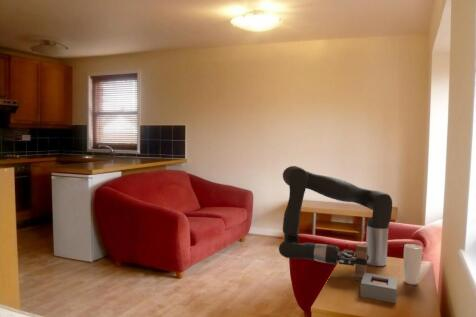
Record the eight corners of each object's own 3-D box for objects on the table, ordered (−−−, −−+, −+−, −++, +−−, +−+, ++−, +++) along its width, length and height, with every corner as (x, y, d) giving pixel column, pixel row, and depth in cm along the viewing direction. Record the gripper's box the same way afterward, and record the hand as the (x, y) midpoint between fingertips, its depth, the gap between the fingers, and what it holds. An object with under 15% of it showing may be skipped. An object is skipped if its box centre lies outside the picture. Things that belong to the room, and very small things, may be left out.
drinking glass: (419, 287, 151) (421, 249, 150) (400, 283, 154) (403, 246, 153) (421, 281, 157) (423, 245, 156) (403, 278, 160) (405, 242, 159)
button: (372, 284, 147) (373, 280, 146) (386, 287, 145) (386, 282, 144) (371, 289, 142) (372, 284, 142) (385, 291, 140) (385, 287, 140)
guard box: (363, 284, 151) (364, 272, 151) (396, 290, 147) (397, 278, 146) (360, 296, 140) (360, 282, 140) (395, 303, 136) (396, 289, 135)
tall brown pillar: (355, 276, 160) (357, 243, 159) (365, 278, 159) (367, 244, 158) (354, 279, 157) (356, 245, 156) (364, 281, 155) (366, 247, 154)
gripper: (323, 249, 156) (366, 256, 149) (329, 240, 169) (369, 246, 162) (322, 267, 157) (365, 275, 150) (329, 257, 170) (368, 264, 163)
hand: (367, 260), depth 156 cm, fingers open, 6 cm apart
